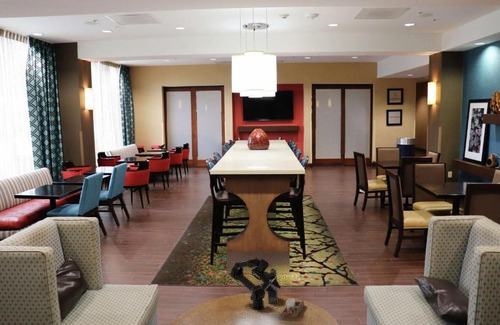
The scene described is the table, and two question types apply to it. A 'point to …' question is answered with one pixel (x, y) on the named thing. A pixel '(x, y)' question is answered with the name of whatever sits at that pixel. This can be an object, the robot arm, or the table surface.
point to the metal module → (291, 305)
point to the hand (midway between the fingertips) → (278, 290)
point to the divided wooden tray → (298, 308)
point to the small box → (273, 296)
